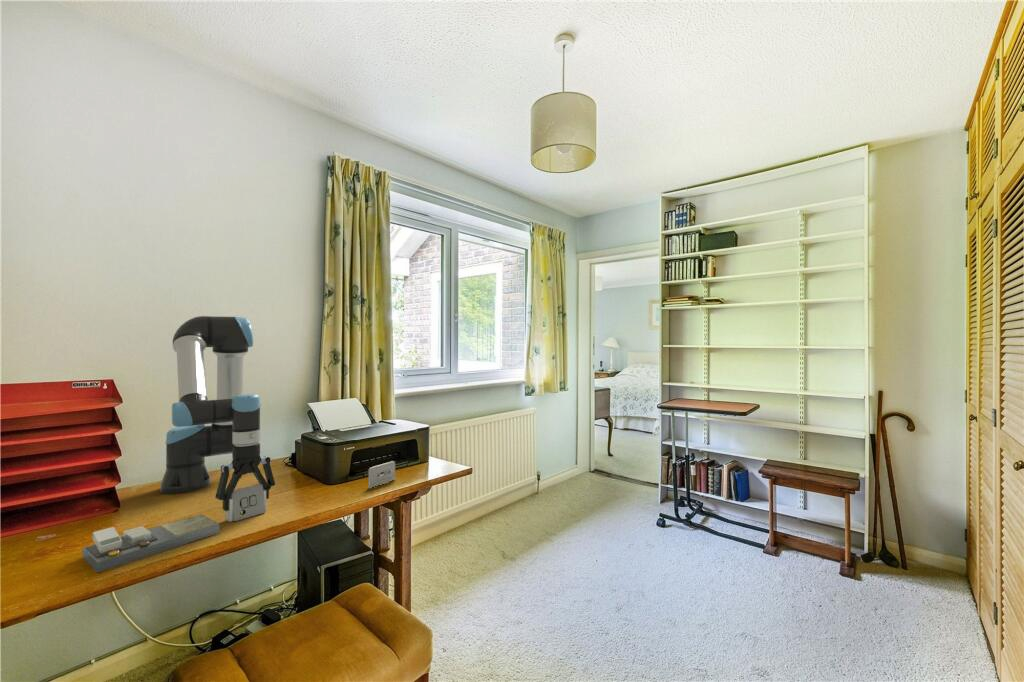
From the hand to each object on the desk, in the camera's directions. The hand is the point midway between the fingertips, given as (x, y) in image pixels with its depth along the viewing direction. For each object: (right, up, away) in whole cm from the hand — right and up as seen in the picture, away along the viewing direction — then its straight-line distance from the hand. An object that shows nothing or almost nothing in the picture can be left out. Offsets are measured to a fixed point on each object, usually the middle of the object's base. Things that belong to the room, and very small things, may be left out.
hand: (246, 514), depth 138 cm
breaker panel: (-13, 0, -20) cm, 24 cm away
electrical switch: (0, 0, 0) cm, 0 cm away
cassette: (+34, 0, +30) cm, 45 cm away
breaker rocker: (-19, +4, -27) cm, 33 cm away
